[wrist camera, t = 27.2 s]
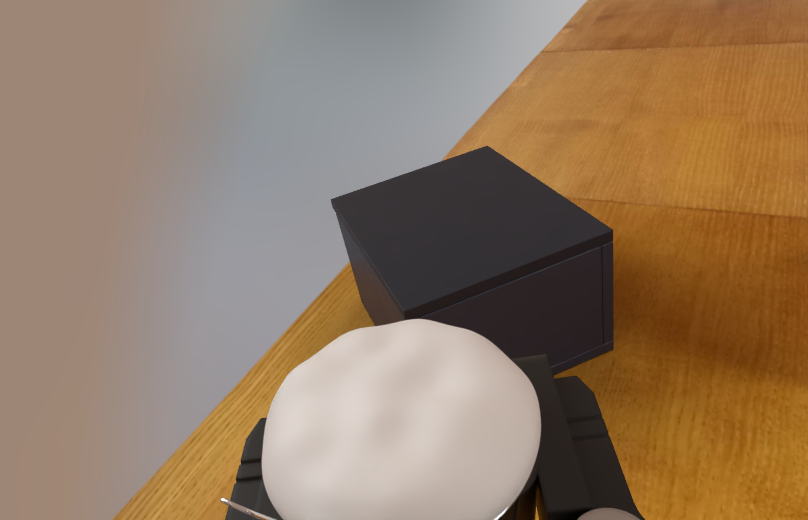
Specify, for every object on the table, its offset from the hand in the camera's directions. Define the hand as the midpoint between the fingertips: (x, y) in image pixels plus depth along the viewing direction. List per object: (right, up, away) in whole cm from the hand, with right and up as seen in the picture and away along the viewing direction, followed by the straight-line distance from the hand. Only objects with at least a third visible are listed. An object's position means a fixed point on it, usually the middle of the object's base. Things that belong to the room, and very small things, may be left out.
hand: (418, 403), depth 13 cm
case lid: (+3, +6, +29) cm, 30 cm away
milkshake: (+1, -7, +1) cm, 7 cm away
